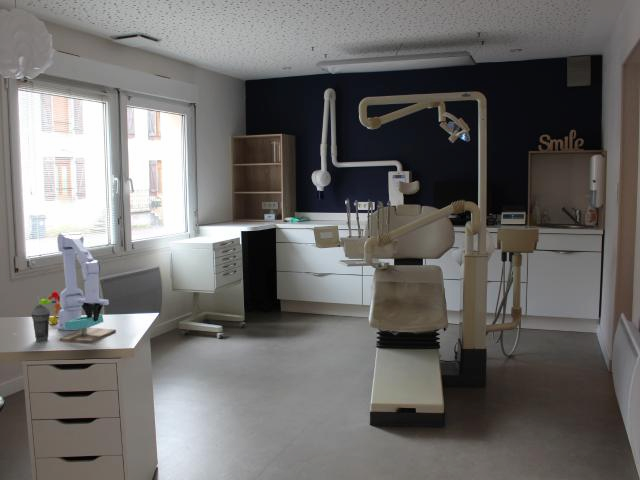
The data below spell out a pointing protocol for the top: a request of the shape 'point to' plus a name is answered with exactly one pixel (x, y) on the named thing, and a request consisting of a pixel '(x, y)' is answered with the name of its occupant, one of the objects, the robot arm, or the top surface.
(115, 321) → the top surface
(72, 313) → the robot arm
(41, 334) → the beverage cup
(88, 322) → the loop
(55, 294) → the educational toy
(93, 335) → the peg board
